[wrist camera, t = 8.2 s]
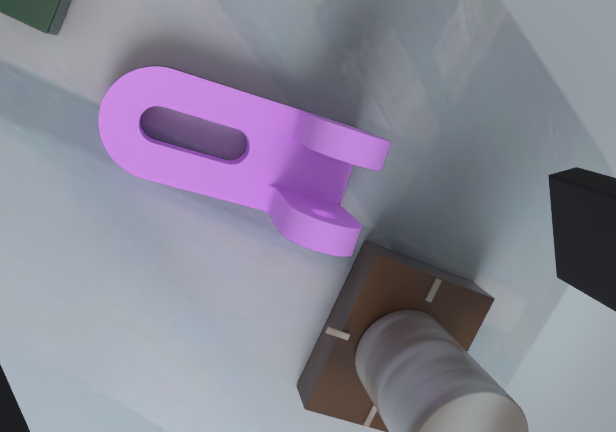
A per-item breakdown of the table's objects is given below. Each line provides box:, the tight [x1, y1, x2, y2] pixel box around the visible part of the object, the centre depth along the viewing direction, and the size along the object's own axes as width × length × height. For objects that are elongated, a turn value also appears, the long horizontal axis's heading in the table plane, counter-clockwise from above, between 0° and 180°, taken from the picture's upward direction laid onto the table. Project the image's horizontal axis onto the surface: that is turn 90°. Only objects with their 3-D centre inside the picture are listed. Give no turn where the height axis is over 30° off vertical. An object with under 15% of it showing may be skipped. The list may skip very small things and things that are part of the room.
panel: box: [297, 241, 494, 432], centre depth 34 cm, size 10×10×3 cm
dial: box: [355, 310, 528, 432], centre depth 29 cm, size 6×6×9 cm
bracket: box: [98, 66, 391, 257], centre depth 27 cm, size 13×6×7 cm, turn 72°
